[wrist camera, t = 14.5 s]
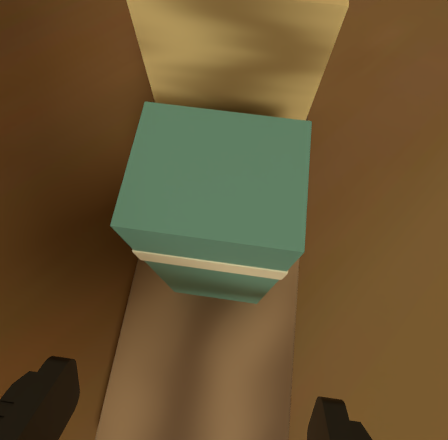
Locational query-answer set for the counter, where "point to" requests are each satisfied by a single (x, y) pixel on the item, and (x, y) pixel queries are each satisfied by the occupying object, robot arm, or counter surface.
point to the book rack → (201, 305)
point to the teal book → (216, 199)
